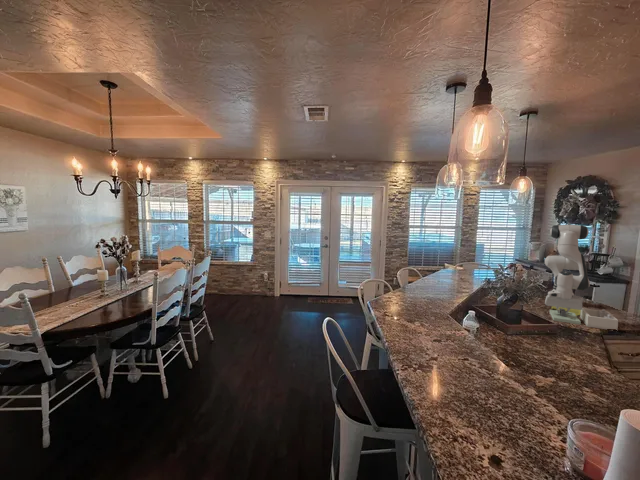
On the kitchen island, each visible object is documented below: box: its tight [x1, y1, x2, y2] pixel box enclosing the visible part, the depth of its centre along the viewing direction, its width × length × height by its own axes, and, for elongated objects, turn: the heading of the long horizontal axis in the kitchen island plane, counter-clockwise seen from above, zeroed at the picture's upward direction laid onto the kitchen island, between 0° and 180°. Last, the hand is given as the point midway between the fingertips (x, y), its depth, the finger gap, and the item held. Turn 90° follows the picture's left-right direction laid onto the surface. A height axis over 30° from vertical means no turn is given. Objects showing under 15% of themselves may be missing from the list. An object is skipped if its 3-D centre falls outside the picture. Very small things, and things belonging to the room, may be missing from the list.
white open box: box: [579, 307, 619, 331], centre depth 190 cm, size 20×14×9 cm
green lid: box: [549, 308, 582, 325], centre depth 201 cm, size 20×14×6 cm
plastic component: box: [550, 306, 581, 317], centre depth 216 cm, size 20×7×10 cm
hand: (562, 313), depth 202 cm, fingers closed on green lid, 2 cm apart
